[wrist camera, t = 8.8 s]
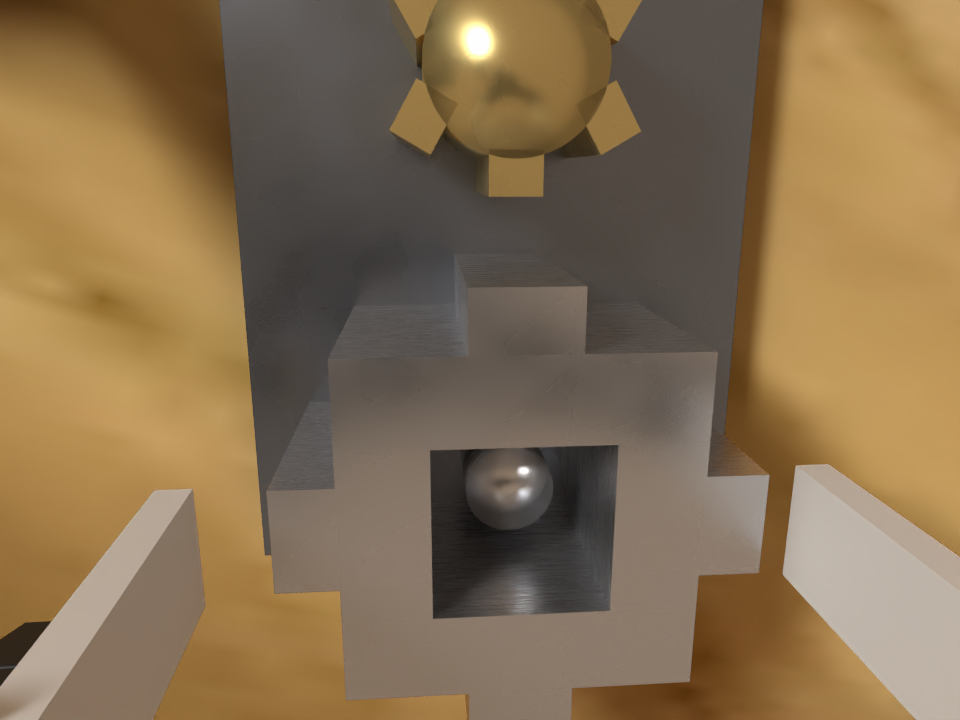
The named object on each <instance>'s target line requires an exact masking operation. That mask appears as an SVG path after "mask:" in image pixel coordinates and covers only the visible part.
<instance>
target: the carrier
mask: <svg viewBox="0 0 960 720" xmlns="http://www.w3.org/2000/svg"><path fill="white" fill-rule="evenodd" d="M763 1H764V0H219V4H220V16H221V28H222V40H223V52H224V65H225V77H226V89H227V101H228V113H229V125H230V137H231V149H232V162H233V174H234V186H235V198H236V210H237V222H238V234H239V246H240V259H241V271H242V283H243V295H244V307H245V319H246V331H247V343H248V356H249V368H250V380H251V392H252V404H253V416H254V428H255V440H256V452H257V465H258V477H259V489H260V501H261V513H262V525H263V537H264V549H265V555H271V543H270V531H269V518H268V506H267V493H266V491H267V489H268V487H269V485H270V483H271V481H272V478H273V476H274V474H275V472H276V470H277V468H278V466H279V464H280V462H281V460H282V458H283V456H284V454H285V452H286V450H287V448H288V446H289V444H290V441H291V439H292V437H293V435H294V433H295V431H296V429H297V427H298V425H299V423H300V421H301V419H302V417H303V415H304V413H305V411H306V409H307V407H308V404H309V402H330V394H329V375H328V357H329V355H330V353H331V351H332V349H333V347H334V345H335V344H336V342H337V340H338V338H339V336H340V334H341V332H342V330H343V328H344V326H345V324H346V322H347V320H348V318H349V316H350V314H351V312H352V310H353V308H354V306H361V305H437V304H455V273H454V254H541V255H543V256H544V257H546V258H547V259H548V260H550V261H551V262H553V263H554V264H556V265H557V266H559V267H560V268H562V269H563V270H565V271H566V272H567V273H569V274H570V275H572V276H573V277H575V278H576V279H578V280H579V281H581V282H582V283H583V284H585V285H586V286H588V290H587V303H588V302H637V303H638V304H640V305H641V306H643V307H645V308H646V309H648V310H650V311H651V312H653V313H655V314H656V315H658V316H660V317H661V318H663V319H665V320H666V321H668V322H670V323H671V324H673V325H675V326H676V327H678V328H679V329H681V330H683V331H684V332H686V333H688V334H689V335H691V336H693V337H694V338H696V339H698V340H699V341H701V342H703V343H704V344H706V345H708V346H709V347H711V348H712V349H714V350H716V351H717V352H718V358H717V370H716V381H715V393H714V405H713V416H712V425H713V426H714V427H715V428H716V429H717V430H718V431H720V432H721V433H722V434H723V435H724V432H725V421H726V410H727V399H728V388H729V377H730V366H731V355H732V344H733V333H734V321H735V310H736V299H737V288H738V277H739V266H740V255H741V244H742V233H743V222H744V211H745V200H746V189H747V178H748V167H749V156H750V145H751V134H752V123H753V112H754V101H755V90H756V78H757V67H758V56H759V45H760V34H761V23H762V12H763ZM561 472H562V447H530V448H494V449H459V450H430V481H431V501H434V500H464V499H467V501H468V504H469V507H470V509H471V510H472V512H473V513H474V515H475V516H476V517H477V518H478V519H479V520H480V521H482V522H483V523H485V524H487V525H488V526H491V527H493V528H497V529H503V530H512V529H518V528H522V527H525V526H527V525H529V524H531V523H533V522H534V521H536V520H537V519H538V518H539V517H540V516H541V515H542V514H543V513H544V512H545V511H546V509H547V508H548V506H549V504H550V501H551V499H552V497H553V496H561Z"/></svg>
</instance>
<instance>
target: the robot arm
mask: <svg viewBox="0 0 960 720" xmlns="http://www.w3.org/2000/svg"><path fill="white" fill-rule="evenodd" d="M782 575H783V576H784V577H785V578H786V579H787V580H788V581H789V582H790V583H791V584H792V586H793V587H794V588H795V589H796V590H797V591H798V592H799V593H800V594H801V595H802V596H803V598H804V599H805V600H806V601H807V602H808V603H809V604H810V605H811V606H812V607H813V608H814V609H815V611H816V612H817V613H818V614H819V615H820V616H821V617H822V618H823V619H824V620H825V621H826V623H827V624H828V625H829V626H830V627H831V628H832V629H833V630H834V631H835V632H836V633H837V634H838V636H839V637H840V638H841V639H842V640H843V641H844V642H845V643H846V644H847V645H848V646H849V648H850V649H851V650H852V651H853V652H854V653H855V654H856V655H857V656H858V657H859V658H860V659H861V661H862V662H863V663H864V664H865V665H866V666H867V667H868V668H869V669H870V670H871V671H872V673H873V674H874V675H875V676H876V677H877V678H878V679H879V680H880V681H881V682H882V683H883V684H884V686H885V687H886V688H887V689H888V690H889V691H890V692H891V693H892V694H893V695H894V696H895V698H896V699H897V700H898V701H899V702H900V703H901V704H902V705H903V706H904V707H905V708H906V709H907V711H908V712H909V713H910V714H911V715H912V716H913V717H914V718H915V719H916V720H960V557H959V556H958V555H956V554H955V553H953V552H952V551H951V550H949V549H948V548H946V547H945V546H943V545H942V544H941V543H939V542H938V541H936V540H935V539H934V538H932V537H931V536H929V535H928V534H926V533H925V532H924V531H922V530H921V529H919V528H918V527H917V526H915V525H914V524H912V523H911V522H909V521H908V520H907V519H905V518H904V517H902V516H901V515H900V514H898V513H897V512H895V511H894V510H892V509H891V508H890V507H888V506H887V505H885V504H884V503H883V502H881V501H880V500H878V499H877V498H875V497H874V496H873V495H871V494H870V493H868V492H867V491H866V490H864V489H863V488H861V487H860V486H858V485H857V484H856V483H854V482H853V481H851V480H850V479H849V478H847V477H846V476H844V475H843V474H841V473H840V472H839V471H837V470H836V469H834V468H833V467H832V466H830V465H829V464H819V465H796V468H795V476H794V484H793V492H792V500H791V509H790V517H789V525H788V533H787V541H786V550H785V558H784V566H783V574H782ZM205 606H206V605H205V596H204V587H203V578H202V569H201V559H200V550H199V541H198V532H197V523H196V514H195V505H194V496H193V489H176V490H154V492H153V493H152V494H151V495H150V497H149V498H148V499H147V501H146V502H145V503H144V504H143V506H142V507H141V508H140V509H139V511H138V512H137V513H136V515H135V516H134V517H133V518H132V520H131V521H130V522H129V523H128V525H127V526H126V527H125V529H124V530H123V531H122V532H121V534H120V535H119V536H118V537H117V539H116V540H115V541H114V543H113V544H112V545H111V546H110V548H109V549H108V550H107V551H106V553H105V554H104V555H103V557H102V558H101V559H100V560H99V562H98V563H97V564H96V565H95V567H94V568H93V569H92V571H91V572H90V573H89V574H88V576H87V577H86V578H85V579H84V581H83V582H82V583H81V585H80V586H79V587H78V588H77V590H76V591H75V592H74V593H73V595H72V596H71V597H70V599H69V600H68V601H67V602H66V604H65V605H64V606H63V607H62V609H61V610H60V611H59V613H58V614H57V615H56V616H55V618H54V619H53V620H52V621H48V622H30V623H24V624H23V625H21V626H20V627H18V628H17V629H15V630H14V631H12V632H11V633H9V634H8V635H6V636H5V637H3V638H2V639H0V720H153V718H154V716H155V714H156V712H157V709H158V707H159V705H160V703H161V701H162V699H163V696H164V694H165V692H166V690H167V688H168V686H169V683H170V681H171V679H172V677H173V675H174V673H175V670H176V668H177V666H178V664H179V662H180V660H181V657H182V655H183V653H184V651H185V649H186V647H187V645H188V642H189V640H190V638H191V636H192V634H193V632H194V629H195V627H196V625H197V623H198V621H199V619H200V616H201V614H202V612H203V610H204V608H205Z"/></svg>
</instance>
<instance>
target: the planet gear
mask: <svg viewBox="0 0 960 720" xmlns="http://www.w3.org/2000/svg"><path fill="white" fill-rule="evenodd" d="M454 273H455V304H437V305H361V306H354V308H353V310H352V312H351V314H350V316H349V318H348V320H347V322H346V324H345V326H344V328H343V330H342V332H341V334H340V336H339V338H338V340H337V342H336V344H335V345H334V347H333V349H332V351H331V353H330V355H329V357H328V375H329V394H330V402H309V404H308V407H307V409H306V411H305V413H304V415H303V417H302V419H301V421H300V423H299V425H298V427H297V429H296V431H295V433H294V435H293V437H292V439H291V441H290V444H289V446H288V448H287V450H286V452H285V454H284V456H283V458H282V460H281V462H280V464H279V466H278V468H277V470H276V472H275V474H274V476H273V478H272V481H271V483H270V485H269V487H268V489H267V491H266V493H267V506H268V518H269V531H270V543H271V556H272V568H273V581H274V593H275V594H280V593H303V592H327V591H340V597H341V616H342V634H343V653H344V671H345V690H346V700H363V699H382V698H400V697H419V696H437V695H456V694H465V698H466V710H467V720H571V708H572V688H585V687H603V686H622V685H640V684H659V683H677V682H690V673H691V661H692V649H693V638H694V626H695V614H696V603H697V591H698V580H699V576H701V575H724V574H747V573H759V567H760V558H761V549H762V540H763V531H764V521H765V512H766V503H767V494H768V485H769V476H770V475H769V474H768V473H767V472H766V471H764V470H763V469H762V468H761V467H760V466H759V465H758V464H756V463H755V462H754V461H753V460H752V459H751V458H750V457H748V456H747V455H746V454H745V453H744V452H743V451H741V450H740V449H739V448H738V447H737V446H736V445H735V444H733V443H732V442H731V441H730V440H729V439H728V438H727V437H725V436H724V435H723V434H722V433H721V432H720V431H718V430H717V429H716V428H715V427H714V426H713V425H712V416H713V405H714V393H715V381H716V370H717V358H718V352H717V351H716V350H714V349H712V348H711V347H709V346H708V345H706V344H704V343H703V342H701V341H699V340H698V339H696V338H694V337H693V336H691V335H689V334H688V333H686V332H684V331H683V330H681V329H679V328H678V327H676V326H675V325H673V324H671V323H670V322H668V321H666V320H665V319H663V318H661V317H660V316H658V315H656V314H655V313H653V312H651V311H650V310H648V309H646V308H645V307H643V306H641V305H640V304H638V303H637V302H588V303H587V290H588V286H586V285H585V284H583V283H582V282H581V281H579V280H578V279H576V278H575V277H573V276H572V275H570V274H569V273H567V272H566V271H565V270H563V269H562V268H560V267H559V266H557V265H556V264H554V263H553V262H551V261H550V260H548V259H547V258H546V257H544V256H543V255H541V254H454ZM530 447H562V472H561V496H553V497H552V499H551V501H550V504H549V506H548V508H547V509H546V511H545V512H544V513H543V514H542V515H541V516H540V517H539V518H538V519H537V520H536V521H534V522H533V523H531V524H529V525H527V526H525V527H522V528H518V529H512V530H503V529H497V528H493V527H491V526H488V525H487V524H485V523H483V522H482V521H480V520H479V519H478V518H477V517H476V516H475V515H474V513H473V512H472V510H471V509H470V507H469V504H468V501H467V499H464V500H434V501H431V481H430V450H459V449H494V448H530Z"/></svg>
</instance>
